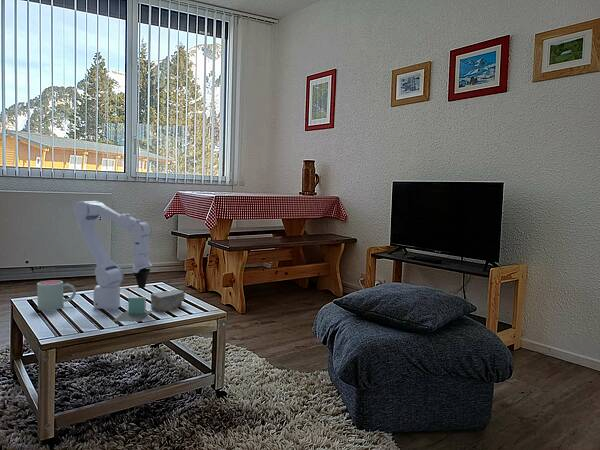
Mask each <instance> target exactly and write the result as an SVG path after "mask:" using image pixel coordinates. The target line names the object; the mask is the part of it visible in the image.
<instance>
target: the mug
mask: <svg viewBox="0 0 600 450" xmlns="http://www.w3.org/2000/svg"><path fill="white" fill-rule="evenodd" d="M66 287H69V288H70V289H71V290H72V295H71V296H69V297H68V298H64V288H66ZM36 289H37V290H36V292H37V294H36V295H37V296H36V297H37V310H39V311H46V312H47V311H48V312H49V311H55V310H59V309H60V310H61V309H62V308H64V307H65V303H68V302H71V301H72V300H73V299H75V296H76V294H77V293H76V292H77V291H76V288H75V286H74V285H72V284H70V283H64V281H63V280H53V279H52V280H50V279H49V280H43V281H42V280H41V281H40V282H39V281H38V282H37V283H36ZM64 302H65V303H64Z"/></svg>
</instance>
